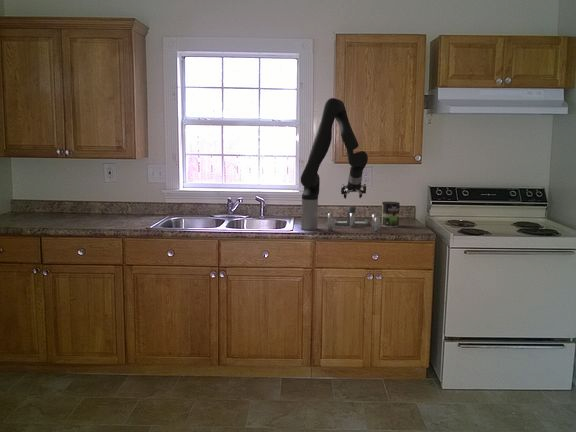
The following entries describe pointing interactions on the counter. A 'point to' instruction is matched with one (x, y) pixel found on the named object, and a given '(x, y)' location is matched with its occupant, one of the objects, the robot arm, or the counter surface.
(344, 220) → the tray
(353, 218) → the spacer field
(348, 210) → the black standoff
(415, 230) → the counter surface
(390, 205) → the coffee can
